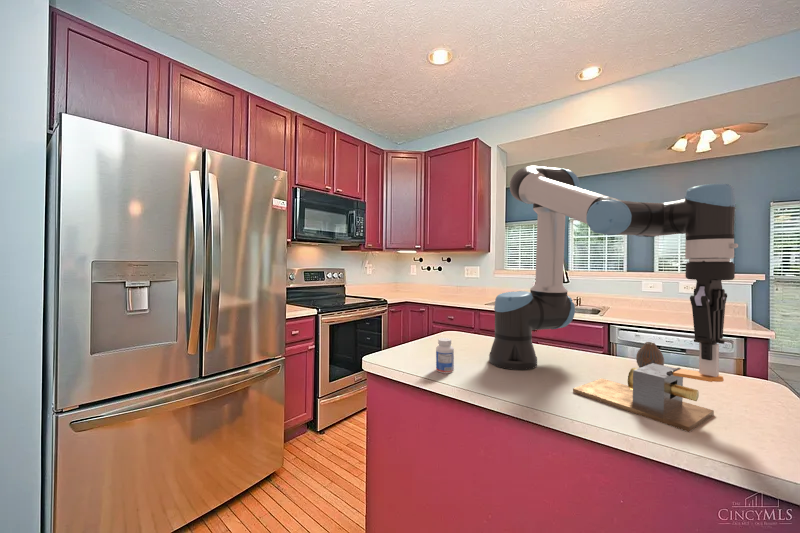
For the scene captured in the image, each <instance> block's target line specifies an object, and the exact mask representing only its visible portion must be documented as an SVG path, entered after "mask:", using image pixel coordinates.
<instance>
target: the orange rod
mask: <svg viewBox="0 0 800 533" xmlns="http://www.w3.org/2000/svg"><path fill="white" fill-rule="evenodd" d="M673 376H679V377H683V378H685V379H691V380H698V381H704V382H709V383H713V382H716V383H721V382H722V383H723V382H724V376H722V375H719V376H717V377H713V376H709V375H704V374H699V371H698V370H697V371H696V370H690V369H683V368H681V369H680V370H677V371H675V372H673Z"/></svg>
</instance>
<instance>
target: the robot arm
mask: <svg viewBox="0 0 800 533" xmlns="http://www.w3.org/2000/svg"><path fill="white" fill-rule="evenodd" d="M509 190H510V194H511V196H512V197H513V198H515V199H516V200H517V201H520V202H522V203H525V204H528V205H532V210H533V211H534V212H535V213H536V214H537V220H536V222H537V225H536V229H537V230H536V231H537V232H536V253H535V278H534V279H535V284H534V285H533V286H532V287H530V291H525V290H519V291H507V292H502V293H499V294H498V295H497V296H496V297H495V301H494V308H493V309H494V340H493V343H492V345H491V348H490V351H489V354H488V356H489V357H488V362H489V363H490V364H492V365H493V366H495V367H498V368H502V369H506V370H516V371H519V370H520V371H524V370H525V371H527V370H532V369H535V368H537V367H538V357H537V355H536V351H535V347H534V344H533V341H532V340H533V338H532V336H533V331H541V330H542V331H543V330H557V329H563V328H565V327H567V326H569V324H571V323H572V322H573V320H574V317H575V314H576V307H575V306H576V305H575V303H574V301H573V299H572V297H571V296H569V295H568V289H567V288H566V287H564V262H565V261H564V260H565V236H566V232H565V231H566V217H569V218H571V219H574V220H576V221H578V222H581V223H583V224H587V226H588V227H589V229H590V231H592V232H593V233H596V234H600V235H604V236H605V235H606V236H635V237H638V238H643V237H644V238H655V237H659V236H670V235H671V236H673V235H685V242H684V243H685V244H684V246H685V247H684V248H685V249H684V250H685V251H684V252H685V253H684V256H685V257H684V258H685V259H686V260H688V261H686V263H685V278H686V279H687V280H690V281H692V280H693V281H694V280H695V281H696V284H695V288H694V289H693V295H690V296H689V301H690V305H691V309H692V320H693V331H694V332H693V333H694V339H693V342H694V343H699V344H698V346H699V347H698V350H699V352H698V354H699V357H698V358H699V360H698V362H699V363H698V368H699V369H698V370H699V374H704V375H709V376H713V377H717V376H720V374H719V373H720V369H719V368H720V365H719V364H720V363H719V362H720V352H719V350H720V345H724V344H725V340H723V338H724V325H725V312H726V303H727V298H728V293H726V291H725V289H724V288H723V284H722V281H733V280H735V277H736V276H735V274H736V273H735V272H736V271H735V268H736V267H735V263H734V261H731V259H734V258H735V249H737V248H739V244H738V243H737V242H736V243H735V212H736V211H735V209H736V207H737V204H736V200H735V191H734V190H735V188H734V186H732V185H731V184H728V183H709V184H701V185H700V184H699V185H697V186H696V185H695V186H692V187H689V188H687V190H686V191H685V196H684V198H683V199H680V200H674V201H673V200H672V201H667V202H648V201H647V202H645V201H629V200H623V199H619V198H615V197H613V196H608V195H605V194H602V193H597V192H596V191H595V192H594V191H590V190H587V189H585V188H584V189H583V188H581V182H580V180H579V177H578V175H577V174H576V173H574V171H572V170H570V169H566V168H562V167H551V166H548V167H547V166H538V165H527V166H524V167H522V168H519V169H518V170H517V171H516V172H515V173H514V174H513V175H512V176H511V178H510V182H509Z"/></svg>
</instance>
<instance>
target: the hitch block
mask: <svg viewBox="0 0 800 533" xmlns="http://www.w3.org/2000/svg"><path fill="white" fill-rule="evenodd" d="M680 369H682V368H681V367H673V366H667V365H664V366H663V365H659V364H654V363H652V364H649V365H646V366H644V367H641V368H639V367H638V368H637V369H635V370H633V390H632V389H630V388H629V386H628V384H627V385H626V384H623V383H618V382H616V381H612V380H609V379H606V378H601V377H600V378H599V379H596V380H594V381H591V382H587V383H585V384H582V385H579V386H576V387H574V388H572V392H573V393H574V394H577V395H580V396H583V397H585V398H589V399H591V400H595V401H597V402H600V403H603V404H606V405H609V406H612V407H614V408H618V409H621V410H623V411H626V412H628V413H629V412H630V413H632V414H636V415H638V416H640V417H644V418H647V419H650V420H652V421H656V422H658V423H661V424H664V425H667V426H670V427H673V428H676V429H678V430H680V431H681V430H682V431H685V432H688V433H690V432H692V430H694V429H695V428H697V427H699V426H700V425H701V424H703V423H704V422H706V421H707V420H708V419H710V418H712V417H713V416H714V415H715V410H713V409H710V408H706V407H702V406H700V405H696V404H692V403H689V402H685V401H684V400H683V399H684V398H682V397H679V396H675V395H671V394H670V383H672V384H676V385H680V386H684V377H679V376H673V372H675V371H677V370H680Z"/></svg>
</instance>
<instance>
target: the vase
mask: <svg viewBox="0 0 800 533" xmlns="http://www.w3.org/2000/svg"><path fill="white" fill-rule="evenodd" d="M635 358H636V363H637V366H638V368H641V367H644V366H646V365H649V364H652V363H654V364H659V365H663V366H665V357H664V354H663V352H662V351H661V350H660V349H659V347H658V346H657V344H656V343H655V342H653V341H652V342H651V341H646V342H644V344H643V346H641V347H640V348H639V349H638V350H637V353H636V357H635Z"/></svg>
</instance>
